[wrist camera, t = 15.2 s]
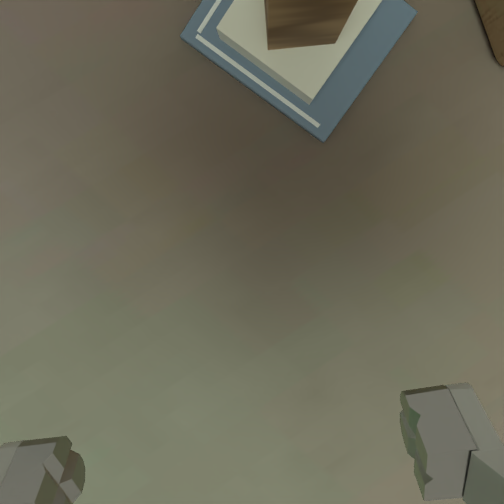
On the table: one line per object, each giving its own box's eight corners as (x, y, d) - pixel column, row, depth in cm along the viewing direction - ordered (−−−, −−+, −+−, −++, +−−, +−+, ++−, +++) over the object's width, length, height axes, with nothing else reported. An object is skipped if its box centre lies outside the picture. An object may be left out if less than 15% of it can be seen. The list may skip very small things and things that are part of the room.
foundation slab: (219, 38, 33) (216, 27, 30) (285, -62, 32) (286, -82, 29) (309, 105, 33) (312, 99, 31) (376, 8, 32) (385, -6, 30)
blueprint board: (181, 39, 34) (179, 35, 33) (268, -98, 32) (268, -106, 31) (322, 143, 35) (324, 142, 34) (414, 15, 33) (418, 11, 32)
